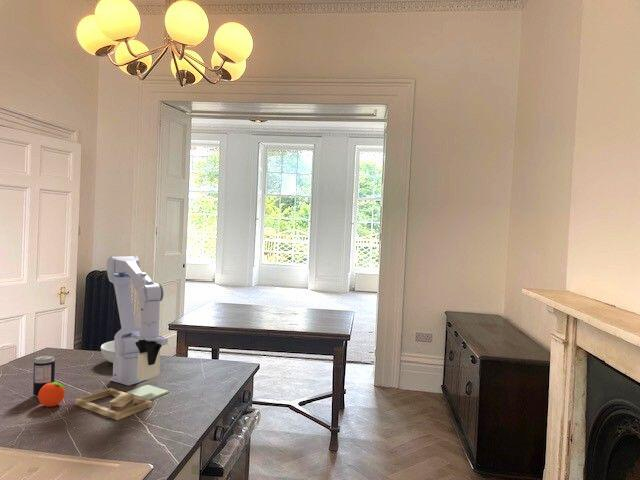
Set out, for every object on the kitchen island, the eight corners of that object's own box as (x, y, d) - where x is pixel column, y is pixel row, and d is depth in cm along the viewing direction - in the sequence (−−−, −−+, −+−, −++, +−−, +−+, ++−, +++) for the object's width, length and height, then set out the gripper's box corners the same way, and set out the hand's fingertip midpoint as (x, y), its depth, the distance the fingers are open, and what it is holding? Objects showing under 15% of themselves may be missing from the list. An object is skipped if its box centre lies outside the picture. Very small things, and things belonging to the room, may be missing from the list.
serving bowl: (156, 368, 175) (157, 350, 175) (95, 371, 169) (96, 353, 169) (159, 353, 195) (159, 337, 195) (104, 355, 189) (105, 338, 189)
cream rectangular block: (137, 379, 148) (137, 354, 148) (154, 373, 154) (155, 349, 154) (141, 380, 147) (142, 355, 146) (159, 374, 153) (160, 350, 153)
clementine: (73, 402, 141) (73, 379, 141) (58, 411, 134) (59, 387, 134) (47, 400, 141) (48, 377, 141) (32, 409, 135) (32, 385, 134)
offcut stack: (108, 414, 134) (109, 402, 134) (121, 405, 141) (121, 393, 141) (122, 415, 133) (122, 403, 133) (133, 406, 140) (134, 394, 140)
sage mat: (126, 393, 149) (126, 391, 149) (147, 386, 157) (147, 384, 157) (147, 400, 144) (147, 398, 144) (168, 392, 152) (168, 390, 152)
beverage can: (58, 394, 147) (59, 356, 146) (41, 400, 141) (41, 361, 141) (46, 390, 149) (47, 353, 149) (28, 396, 144) (29, 358, 143)
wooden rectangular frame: (75, 404, 139) (75, 399, 139) (110, 392, 149) (111, 388, 149) (117, 420, 130) (117, 414, 130) (151, 406, 140) (152, 401, 140)
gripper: (124, 320, 150) (123, 362, 150) (155, 327, 143) (154, 370, 143) (142, 317, 156) (141, 357, 156) (173, 323, 149) (172, 365, 149)
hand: (148, 363), depth 150 cm, fingers closed on cream rectangular block, 2 cm apart
